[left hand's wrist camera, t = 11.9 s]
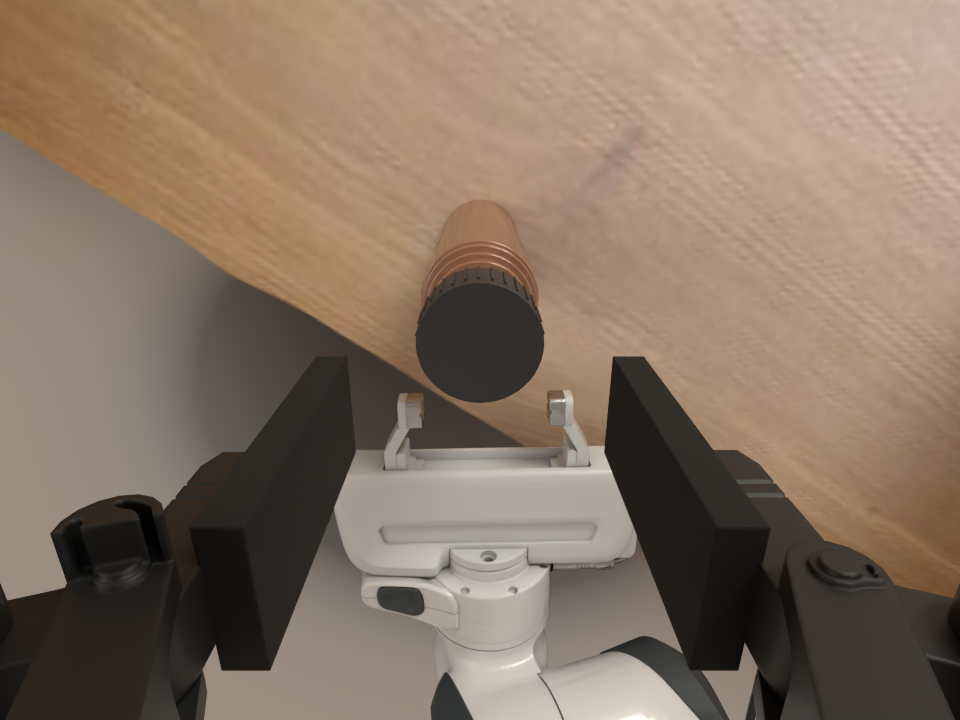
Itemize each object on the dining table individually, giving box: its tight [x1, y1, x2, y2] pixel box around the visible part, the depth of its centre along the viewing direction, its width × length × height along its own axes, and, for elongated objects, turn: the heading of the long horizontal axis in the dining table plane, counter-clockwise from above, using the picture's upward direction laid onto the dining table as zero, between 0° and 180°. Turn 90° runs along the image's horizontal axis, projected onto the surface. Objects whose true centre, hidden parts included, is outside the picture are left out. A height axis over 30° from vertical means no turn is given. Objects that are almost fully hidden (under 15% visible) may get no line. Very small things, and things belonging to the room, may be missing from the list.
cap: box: [415, 266, 544, 403], centre depth 20 cm, size 4×4×2 cm
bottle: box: [421, 200, 539, 308], centre depth 29 cm, size 5×5×21 cm
